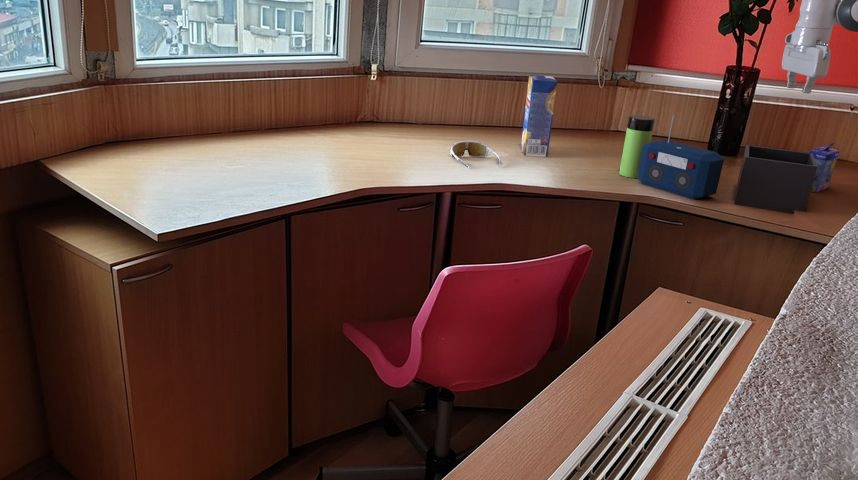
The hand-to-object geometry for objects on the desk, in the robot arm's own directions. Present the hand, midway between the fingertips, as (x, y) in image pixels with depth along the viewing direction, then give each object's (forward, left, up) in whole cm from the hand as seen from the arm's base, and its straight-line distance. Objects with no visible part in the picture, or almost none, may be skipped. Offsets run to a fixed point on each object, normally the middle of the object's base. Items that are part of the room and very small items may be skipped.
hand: (798, 90), depth 200 cm
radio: (+26, +23, -28) cm, 44 cm away
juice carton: (+72, +2, -28) cm, 77 cm away
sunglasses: (+84, +27, -28) cm, 92 cm away
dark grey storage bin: (+2, +19, -28) cm, 34 cm away
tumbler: (+39, +13, -28) cm, 49 cm away
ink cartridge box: (-10, -1, -28) cm, 30 cm away
